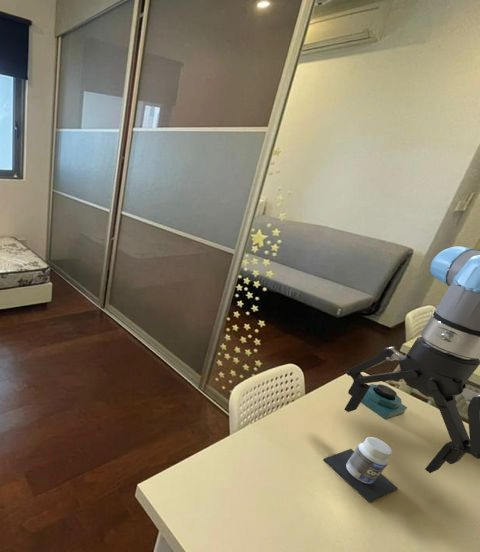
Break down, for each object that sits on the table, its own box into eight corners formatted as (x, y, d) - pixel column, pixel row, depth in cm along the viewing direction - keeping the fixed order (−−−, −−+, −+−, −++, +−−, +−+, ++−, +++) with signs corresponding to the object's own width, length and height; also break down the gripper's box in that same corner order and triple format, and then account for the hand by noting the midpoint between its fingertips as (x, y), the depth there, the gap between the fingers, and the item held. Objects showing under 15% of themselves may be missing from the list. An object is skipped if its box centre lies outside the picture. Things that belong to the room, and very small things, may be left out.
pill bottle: (363, 486, 63) (384, 458, 60) (339, 464, 67) (358, 436, 64) (379, 482, 64) (401, 454, 61) (356, 460, 69) (374, 433, 65)
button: (396, 399, 84) (400, 393, 83) (387, 401, 82) (391, 396, 81) (379, 388, 87) (382, 383, 86) (370, 390, 86) (373, 385, 85)
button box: (403, 413, 84) (411, 402, 82) (384, 419, 81) (392, 408, 80) (369, 391, 91) (376, 380, 89) (351, 396, 88) (358, 385, 86)
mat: (397, 489, 64) (398, 487, 64) (369, 502, 61) (370, 501, 61) (350, 449, 72) (351, 448, 71) (323, 459, 68) (324, 458, 68)
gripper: (354, 311, 62) (312, 393, 71) (560, 409, 41) (464, 509, 50) (378, 307, 65) (334, 387, 73) (583, 398, 44) (488, 495, 52)
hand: (386, 436), depth 62 cm, fingers open, 13 cm apart
